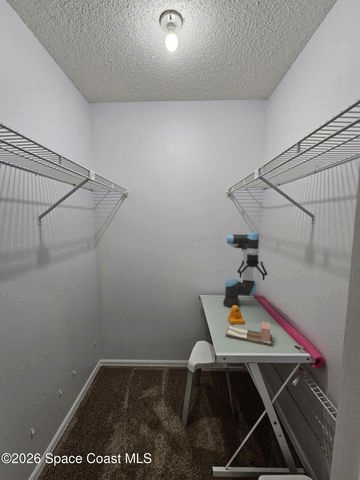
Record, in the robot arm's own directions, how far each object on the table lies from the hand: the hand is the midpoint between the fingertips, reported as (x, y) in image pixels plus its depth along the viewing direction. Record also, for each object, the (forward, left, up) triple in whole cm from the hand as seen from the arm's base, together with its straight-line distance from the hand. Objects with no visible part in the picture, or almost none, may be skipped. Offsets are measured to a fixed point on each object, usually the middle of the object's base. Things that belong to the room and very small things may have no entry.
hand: (251, 283), depth 147 cm
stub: (+16, +10, -30) cm, 35 cm away
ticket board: (+16, 0, -32) cm, 35 cm away
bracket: (-2, -10, -32) cm, 34 cm away
